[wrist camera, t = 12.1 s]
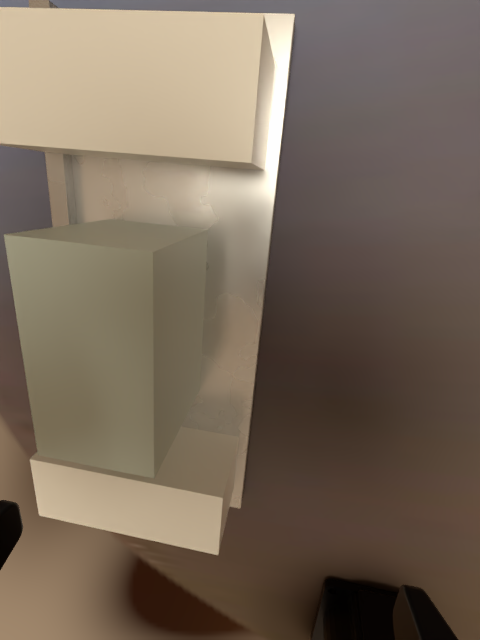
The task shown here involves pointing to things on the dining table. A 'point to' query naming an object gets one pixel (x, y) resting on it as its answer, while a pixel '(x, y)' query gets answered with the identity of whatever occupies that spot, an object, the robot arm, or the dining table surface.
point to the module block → (110, 337)
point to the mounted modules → (147, 145)
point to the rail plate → (222, 243)
